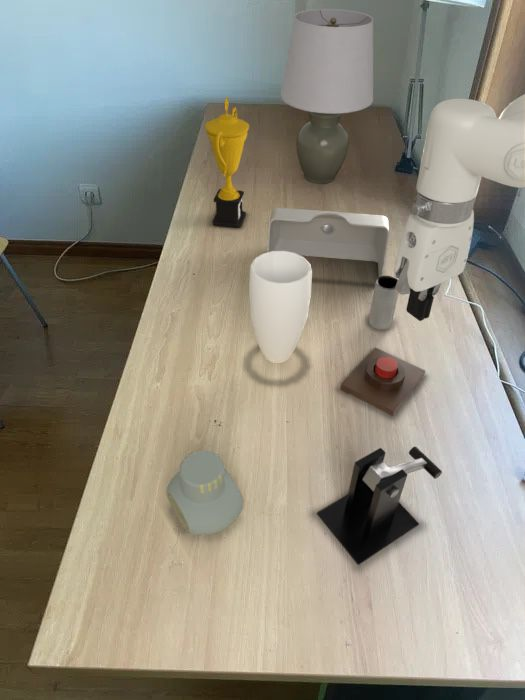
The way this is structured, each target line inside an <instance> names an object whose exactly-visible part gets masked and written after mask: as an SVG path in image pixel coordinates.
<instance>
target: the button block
mask: <svg viewBox="0 0 525 700" xmlns="http://www.w3.org/2000/svg"><path fill="white" fill-rule="evenodd" d="M381 357H390V358H392V359H394V360H395V361H396V362H397V364H398V368H397V372H396V375H395V376H394V377H393V378H389V379H387V378H382V377H380V376H378V375H377V374H376V372H375V367H376V362H377V360H378V359H379V358H381ZM425 374H426V370H425V369H422V368H420V367H418V366H416V365H414V364H412V363H410V362H408V361H405V360H403V359H401V358H399V357H397V356H395V355H393V354H390V353H388V352H386V351H385V350H382V349H380V348H378V347H374V348H373V349H372V350H371V351H370V352H369V354H368V355H367V356H366V357H365V358H364V359H363V360H362V361H361V362H360V363H359V364H358V366H357V367H355V369H353V371H352V372H351V373H350V374H349V375H348V377H346V379H345V380H344V381H343V382H342V383H341V384H340V385H341V386H340V391H342V392H344V393H346V394H348V395H351V396H352V397H355V398H357V399H359V400H361V401H363V402H365V403H367V404H369V405H370V406H372V407H374V408H376V409H378V410H380V411H381V412H384V413H386V414H388V415H390V416H392V417H393V416H394V415H396V413H397V411H398V410H399V409H400V408H401V406H402V405H403V403H405V401H406V400H407V398H409V395H411V393H412V392H413V391H414V389H415V388H416V387H417V386H418V385H419V383H420V382H421V380H423V378H424V377H425Z"/></svg>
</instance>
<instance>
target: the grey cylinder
mask: <svg viewBox="0 0 525 700" xmlns="http://www.w3.org/2000/svg"><path fill="white" fill-rule="evenodd" d="M398 279H399V278H395V276H390V275H383V276H381V277H379V276H378V277H377V278H376V280H375V283H374V288H373V295H372V300H371V303H370V310H369V316H368V325H370V326H371V327H373V328H375V329H377V330H386V329H390V328H391V326H392V325H393V324H392V323H393V320H394V315H395V310H396V305H397V301H398V297H399V293H398V292H397V291H395V287H396V284H397V282H398Z"/></svg>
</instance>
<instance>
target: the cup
mask: <svg viewBox="0 0 525 700" xmlns="http://www.w3.org/2000/svg"><path fill="white" fill-rule="evenodd" d="M312 277H313V269H312V265H311V263H310V262H309V261H308V260H307V259H306V258H305V256H302V255H298V254H296V253H293V252H288V251H271V252H267V251H266V252H263V253H261V254H260V255H257V257H255V258H254V259H253V261H252V262H251V264H250V266H249V280H248V281H249V284H248V285H249V286H248V295H249V313H250V314H249V315H250V321H251V326H252V330H253V333H254V337H255V340H256V343H257V345H258V347H259V350H260V352H261V353H262V355H263V357H264V359H266V361H268V362H269V363H273V364H282V363H285V362H287V361H288V360H289V359H290V357H292V355H293V353H294V352H295V350H296V348H297V346H298V344H299V342H300V340H301V337H302V335H303V333H304V329H305V326H306V323H307V321H308V317H309V311H310V305H311V297H312V280H313V279H312Z"/></svg>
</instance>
